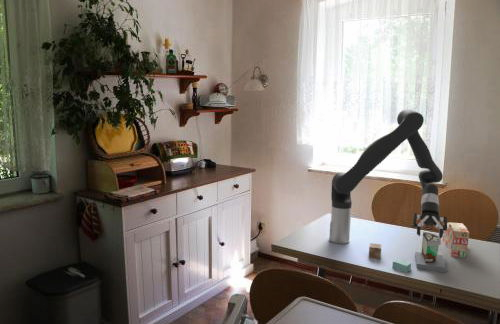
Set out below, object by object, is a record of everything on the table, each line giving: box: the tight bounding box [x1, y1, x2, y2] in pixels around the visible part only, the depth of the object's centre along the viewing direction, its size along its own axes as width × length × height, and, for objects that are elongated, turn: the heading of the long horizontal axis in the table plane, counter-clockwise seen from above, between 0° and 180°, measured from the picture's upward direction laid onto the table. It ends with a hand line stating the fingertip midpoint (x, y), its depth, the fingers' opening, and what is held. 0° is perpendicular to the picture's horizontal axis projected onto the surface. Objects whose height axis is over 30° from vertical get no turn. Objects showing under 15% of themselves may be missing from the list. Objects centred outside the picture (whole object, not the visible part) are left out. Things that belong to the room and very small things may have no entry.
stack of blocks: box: [442, 221, 470, 259], centre depth 193 cm, size 21×6×12 cm, turn 165°
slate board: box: [414, 251, 447, 273], centre depth 176 cm, size 11×14×2 cm
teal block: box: [392, 258, 412, 273], centre depth 171 cm, size 6×4×3 cm, turn 44°
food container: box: [421, 231, 442, 263], centre depth 175 cm, size 12×6×10 cm, turn 167°
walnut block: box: [368, 242, 382, 260], centre depth 183 cm, size 5×5×5 cm
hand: (429, 236), depth 184 cm, fingers open, 8 cm apart
